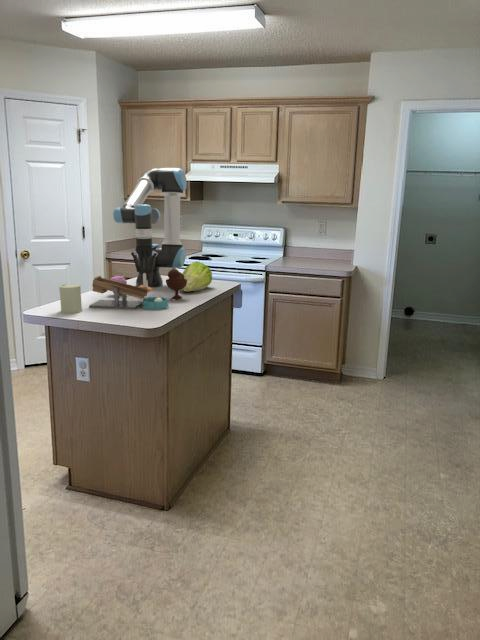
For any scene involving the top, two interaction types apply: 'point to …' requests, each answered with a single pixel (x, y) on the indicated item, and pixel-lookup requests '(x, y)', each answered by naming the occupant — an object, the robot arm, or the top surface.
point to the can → (70, 298)
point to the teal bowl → (154, 303)
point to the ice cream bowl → (176, 282)
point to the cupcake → (119, 280)
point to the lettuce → (197, 276)
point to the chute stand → (116, 302)
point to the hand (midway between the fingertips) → (145, 286)
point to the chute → (119, 287)
